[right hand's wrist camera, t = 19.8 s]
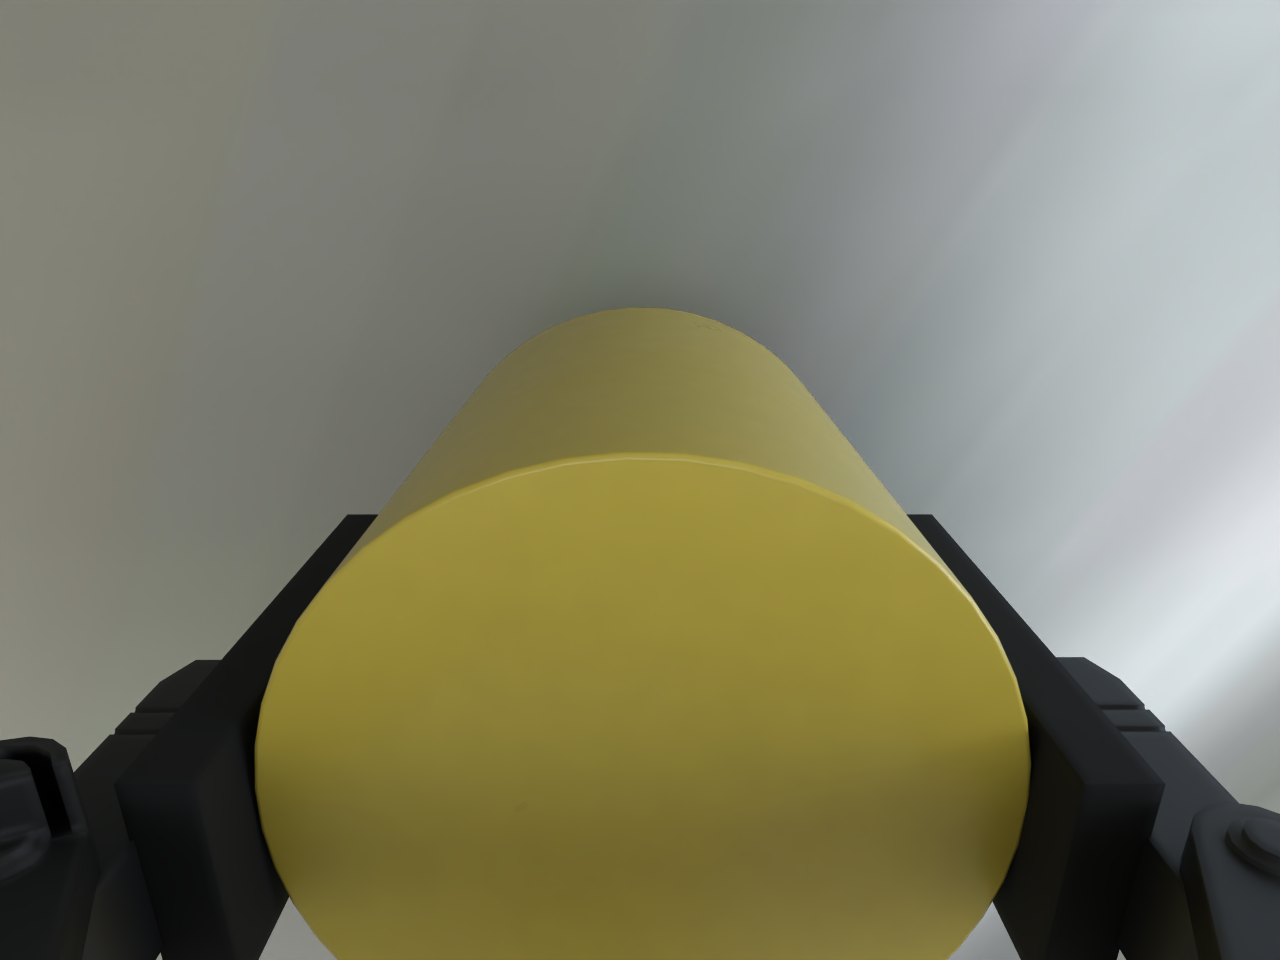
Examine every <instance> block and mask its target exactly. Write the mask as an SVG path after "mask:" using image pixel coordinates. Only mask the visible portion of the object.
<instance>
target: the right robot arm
mask: <svg viewBox="0 0 1280 960" xmlns="http://www.w3.org/2000/svg"><path fill="white" fill-rule="evenodd" d="M377 516H378V515H347V516H346V517H345V518H344V519H343V520H342V522H341V523H340V524H339V525H338V526H337V527H336V529H335V530H334V531H333V532H332V533H331V534H330V535H329V537H328V538H327V539H326V540H325V541H324V542H323V544H322V545H321V546H320V547H319V548H318V549H317V550H316V552H315V553H314V554H313V555H312V556H311V557H310V558H309V560H308V561H307V562H306V563H305V564H304V565H303V567H302V568H301V569H300V570H299V571H298V572H297V573H296V575H295V576H294V577H293V578H292V579H291V580H290V582H289V583H288V584H287V585H286V586H285V587H284V588H283V590H282V591H281V592H280V593H279V594H278V595H277V597H276V598H275V599H274V600H273V601H272V602H271V603H270V605H269V606H268V607H267V608H266V609H265V610H264V611H263V613H262V614H261V615H260V616H259V617H258V618H257V620H256V621H255V622H254V623H253V624H252V625H251V626H250V628H249V629H248V630H247V631H246V632H245V633H244V635H243V636H242V637H241V638H240V639H239V640H238V641H237V643H236V644H235V645H234V646H233V647H232V648H231V649H230V651H229V652H228V653H227V654H226V655H225V656H224V658H223V659H222V660H195V661H194V662H192V663H190V664H189V665H187V666H185V667H184V668H182V669H180V670H179V671H177V672H176V673H174V674H172V675H171V676H169V677H167V678H166V679H164V680H162V681H161V682H159V684H158V685H157V686H156V687H155V688H154V689H153V690H152V691H151V692H150V693H149V694H148V695H147V696H146V697H145V698H144V699H143V700H142V701H141V702H140V703H139V705H138V706H137V707H136V710H135V713H130V714H129V715H128V716H127V717H126V718H125V719H124V720H123V721H122V722H121V723H120V724H119V726H118V727H117V728H116V729H115V734H114V735H109V736H108V737H107V738H106V739H105V740H104V741H103V742H102V743H101V744H100V745H99V747H98V748H97V749H96V750H95V751H94V752H93V753H92V754H91V755H90V756H89V757H88V758H87V759H86V760H85V761H84V762H83V763H82V764H81V765H80V766H79V768H78V769H77V770H76V771H75V772H74V773H73V770H72V766H71V763H70V759H69V756H68V753H67V749H66V748H65V747H64V746H62V745H61V744H59V743H58V742H56V741H55V740H53V739H47V738H38V737H23V738H16V739H8V740H1V741H0V960H156V958H157V957H158V955H159V954H160V952H161V955H162V959H163V960H258V959H259V957H260V955H261V953H262V951H263V949H264V947H265V945H266V943H267V941H268V939H269V937H270V935H271V933H272V931H273V929H274V927H275V925H276V923H277V920H278V918H279V916H280V914H281V912H282V910H283V908H284V906H285V904H286V902H287V900H288V898H289V894H288V893H287V891H286V889H285V887H284V885H283V883H282V881H281V879H280V877H279V875H278V873H277V871H276V869H275V867H274V864H273V861H272V858H271V855H270V852H269V849H268V846H267V843H266V840H265V837H264V834H263V831H262V827H261V822H260V816H259V810H258V804H257V798H256V793H255V740H256V734H257V727H258V721H259V715H260V709H261V703H262V700H263V697H264V694H265V691H266V688H267V685H268V682H269V679H270V676H271V673H272V670H273V667H274V664H275V661H276V659H277V657H278V655H279V653H280V652H281V650H282V648H283V646H284V644H285V642H286V640H287V638H288V637H289V635H290V633H291V631H292V629H293V627H294V625H295V623H296V621H297V620H298V619H299V617H300V616H301V615H302V613H303V612H304V611H305V609H306V608H307V607H308V605H309V604H310V603H311V601H312V600H313V599H314V597H315V596H316V595H317V593H318V592H319V591H320V589H321V588H322V587H323V585H324V584H325V583H326V581H327V580H328V579H329V578H330V576H331V575H332V574H333V573H334V571H335V570H336V569H337V567H338V566H339V565H340V564H341V562H342V561H343V560H344V558H345V557H346V556H347V555H348V553H349V552H350V551H351V549H352V548H353V547H354V546H355V544H356V543H357V542H358V540H359V539H360V538H361V537H362V535H363V534H364V533H365V531H366V530H367V529H368V528H369V526H370V525H371V524H372V523H373V521H374V520H375V519H376V517H377ZM907 516H908V517H909V519H910V520H911V521H912V522H913V524H914V525H915V526H916V527H917V529H918V530H919V531H920V532H921V534H922V535H923V536H924V537H925V539H926V540H927V541H928V543H929V544H930V545H931V546H932V548H933V549H934V550H935V551H936V553H937V554H938V555H939V556H940V558H941V559H942V560H943V561H944V563H945V564H946V565H947V566H948V568H949V569H950V570H951V571H952V573H953V574H954V575H955V577H956V578H957V579H958V580H959V582H960V583H961V584H962V585H963V587H964V588H965V589H966V590H967V592H968V593H969V594H970V595H971V597H972V598H973V600H974V601H975V603H976V604H977V606H978V607H979V609H980V610H981V612H982V613H983V615H984V616H985V618H986V619H987V621H988V622H989V624H990V625H991V627H992V628H993V630H994V632H995V633H996V635H997V636H998V638H999V640H1000V643H1001V645H1002V647H1003V649H1004V651H1005V654H1006V656H1007V658H1008V660H1009V663H1010V665H1011V667H1012V669H1013V672H1014V674H1015V676H1016V679H1017V682H1018V686H1019V690H1020V694H1021V698H1022V701H1023V705H1024V709H1025V713H1026V717H1027V722H1028V733H1029V745H1030V756H1031V773H1030V787H1029V797H1028V803H1027V808H1026V813H1025V817H1024V822H1023V827H1022V831H1021V836H1020V841H1019V845H1018V848H1017V850H1016V853H1015V855H1014V858H1013V860H1012V862H1011V865H1010V867H1009V870H1008V872H1007V875H1006V877H1005V880H1004V882H1003V884H1002V886H1001V887H1000V889H999V891H998V892H997V894H996V896H995V897H994V899H993V903H994V905H995V907H996V909H997V911H998V913H999V915H1000V918H1001V920H1002V922H1003V924H1004V926H1005V928H1006V930H1007V932H1008V934H1009V936H1010V938H1011V940H1012V942H1013V944H1014V946H1015V948H1016V950H1017V952H1018V954H1019V957H1020V959H1021V960H1117V957H1118V953H1119V949H1120V950H1121V952H1122V954H1123V955H1124V957H1125V958H1126V960H1280V814H1278V813H1275V812H1272V811H1269V810H1267V809H1264V808H1261V807H1258V806H1251V805H1245V804H1239V803H1238V802H1237V801H1236V800H1235V799H1234V798H1233V797H1232V796H1231V794H1230V793H1229V792H1228V791H1227V790H1226V789H1225V788H1224V787H1223V786H1222V785H1221V784H1220V783H1219V782H1218V781H1217V780H1216V779H1215V778H1214V777H1213V776H1212V775H1211V774H1210V773H1209V772H1208V770H1207V769H1206V768H1205V767H1204V766H1203V765H1202V764H1201V763H1200V762H1199V761H1198V760H1197V759H1196V758H1195V757H1194V756H1193V755H1192V754H1191V753H1190V752H1189V751H1188V750H1187V749H1186V748H1185V746H1184V745H1183V744H1182V743H1181V742H1180V741H1179V740H1178V739H1177V738H1176V737H1175V736H1174V735H1173V734H1172V733H1171V732H1166V731H1165V726H1164V725H1163V724H1162V723H1161V721H1160V720H1159V719H1158V718H1157V717H1156V716H1155V715H1154V714H1153V713H1152V712H1151V711H1150V710H1145V707H1144V704H1143V703H1142V702H1141V701H1140V700H1139V699H1138V697H1137V696H1136V695H1135V694H1134V693H1133V692H1132V691H1131V690H1130V689H1129V688H1128V687H1127V686H1126V685H1125V684H1124V683H1123V682H1122V681H1121V680H1120V679H1119V678H1117V677H1116V676H1114V675H1112V674H1111V673H1109V672H1107V671H1106V670H1104V669H1102V668H1101V667H1099V666H1097V665H1096V664H1094V663H1092V662H1091V661H1089V660H1087V659H1086V658H1084V657H1055V656H1054V655H1053V654H1052V652H1051V651H1050V650H1049V649H1048V648H1047V647H1046V646H1045V644H1044V643H1043V642H1042V641H1041V640H1040V639H1039V638H1038V636H1037V635H1036V634H1035V633H1034V632H1033V631H1032V629H1031V628H1030V627H1029V626H1028V625H1027V624H1026V623H1025V621H1024V620H1023V619H1022V618H1021V617H1020V616H1019V614H1018V613H1017V612H1016V611H1015V610H1014V609H1013V608H1012V606H1011V605H1010V604H1009V603H1008V602H1007V601H1006V599H1005V598H1004V597H1003V596H1002V595H1001V594H1000V593H999V591H998V590H997V589H996V588H995V587H994V586H993V585H992V583H991V582H990V581H989V580H988V579H987V578H986V576H985V575H984V574H983V573H982V572H981V571H980V570H979V568H978V567H977V566H976V565H975V564H974V563H973V561H972V560H971V559H970V558H969V557H968V556H967V555H966V553H965V552H964V551H963V550H962V549H961V548H960V546H959V545H958V544H957V543H956V542H955V541H954V540H953V538H952V537H951V536H950V535H949V534H948V533H947V531H946V530H945V529H944V528H943V527H942V526H941V525H940V523H939V522H938V521H937V520H936V519H935V518H934V517H933V515H907Z"/></svg>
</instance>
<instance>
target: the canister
mask: <svg viewBox="0 0 1280 960" xmlns="http://www.w3.org/2000/svg"><path fill="white" fill-rule="evenodd" d="M1030 773H1031V756H1030V745H1029V733H1028V722H1027V717H1026V713H1025V709H1024V705H1023V701H1022V698H1021V694H1020V690H1019V686H1018V682H1017V679H1016V676H1015V674H1014V672H1013V669H1012V667H1011V665H1010V663H1009V660H1008V658H1007V656H1006V654H1005V651H1004V649H1003V647H1002V645H1001V643H1000V640H999V638H998V636H997V635H996V633H995V632H994V630H993V628H992V627H991V625H990V624H989V622H988V621H987V619H986V618H985V616H984V615H983V613H982V612H981V610H980V609H979V607H978V606H977V604H976V603H975V601H974V600H973V598H972V597H971V595H970V594H969V593H968V592H967V590H966V589H965V588H964V587H963V585H962V584H961V583H960V582H959V580H958V579H957V578H956V577H955V575H954V574H953V573H952V571H951V570H950V569H949V568H948V566H947V565H946V564H945V563H944V561H943V560H942V559H941V558H940V556H939V555H938V554H937V553H936V551H935V550H934V549H933V548H932V546H931V545H930V544H929V543H928V541H927V540H926V539H925V537H924V536H923V535H922V534H921V532H920V531H919V530H918V529H917V527H916V526H915V525H914V524H913V522H912V521H911V520H910V519H909V517H908V516H907V515H906V514H905V512H904V511H903V510H902V508H901V507H900V506H899V505H898V503H897V502H896V501H895V500H894V498H893V497H892V496H891V495H890V493H889V492H888V491H887V490H886V488H885V487H884V486H883V485H882V483H881V482H880V481H879V479H878V478H877V477H876V476H875V474H874V473H873V472H872V471H871V469H870V468H869V467H868V466H867V464H866V463H865V462H864V461H863V459H862V458H861V457H860V456H859V454H858V453H857V452H856V451H855V449H854V448H853V447H852V445H851V444H850V443H849V442H848V440H847V439H846V438H845V437H844V435H843V434H842V433H841V432H840V430H839V429H838V428H837V427H836V425H835V424H834V423H833V422H832V420H831V419H830V418H829V416H828V415H827V414H826V413H825V411H824V410H823V409H822V408H821V406H820V405H819V404H818V403H817V401H816V400H815V399H814V398H813V396H812V395H811V394H810V393H809V391H808V390H807V389H806V388H805V386H804V385H803V384H802V383H801V381H800V380H799V379H798V378H797V377H796V376H795V375H794V374H793V373H792V371H791V370H790V369H789V368H788V367H787V366H786V365H785V364H784V363H783V362H782V361H781V360H780V359H778V358H777V357H776V356H775V355H774V354H772V353H771V352H770V351H769V350H768V349H766V348H765V347H764V346H762V345H761V344H759V343H758V342H756V341H755V340H753V339H751V338H750V337H748V336H747V335H745V334H743V333H742V332H740V331H738V330H736V329H733V328H731V327H729V326H727V325H725V324H722V323H720V322H718V321H716V320H712V319H709V318H706V317H702V316H699V315H696V314H692V313H689V312H683V311H677V310H670V309H664V308H641V307H631V308H622V309H612V310H604V311H600V312H596V313H592V314H588V315H584V316H579V317H576V318H574V319H571V320H569V321H566V322H563V323H561V324H558V325H556V326H553V327H551V328H549V329H547V330H546V331H544V332H542V333H540V334H538V335H537V336H535V337H533V338H531V339H529V340H528V341H526V342H525V343H524V344H522V345H521V346H520V347H518V348H517V349H516V350H514V351H513V352H512V353H510V354H509V355H508V356H506V357H505V358H504V359H503V360H502V361H501V362H500V363H499V364H498V365H497V366H496V367H495V368H494V369H493V370H492V371H491V372H490V373H489V374H488V375H487V376H486V378H485V379H484V380H483V382H482V383H481V384H480V385H479V387H478V388H477V389H476V391H475V392H474V393H473V394H472V396H471V397H470V398H469V399H468V401H467V402H466V403H465V405H464V406H463V407H462V408H461V410H460V411H459V412H458V414H457V415H456V416H455V417H454V419H453V420H452V421H451V423H450V424H449V425H448V426H447V428H446V429H445V430H444V432H443V433H442V434H441V435H440V437H439V438H438V439H437V440H436V442H435V443H434V444H433V446H432V447H431V448H430V449H429V451H428V452H427V453H426V455H425V456H424V457H423V458H422V460H421V461H420V462H419V464H418V465H417V466H416V467H415V469H414V470H413V471H412V473H411V474H410V475H409V476H408V478H407V479H406V480H405V482H404V483H403V484H402V485H401V487H400V488H399V489H398V490H397V492H396V493H395V494H394V496H393V497H392V498H391V499H390V501H389V502H388V503H387V505H386V506H385V507H384V508H383V510H382V511H381V512H380V514H379V515H378V516H377V517H376V519H375V520H374V521H373V523H372V524H371V525H370V526H369V528H368V529H367V530H366V531H365V533H364V534H363V535H362V537H361V538H360V539H359V540H358V542H357V543H356V544H355V546H354V547H353V548H352V549H351V551H350V552H349V553H348V555H347V556H346V557H345V558H344V560H343V561H342V562H341V564H340V565H339V566H338V567H337V569H336V570H335V571H334V573H333V574H332V575H331V576H330V578H329V579H328V580H327V581H326V583H325V584H324V585H323V587H322V588H321V589H320V591H319V592H318V593H317V595H316V596H315V597H314V599H313V600H312V601H311V603H310V604H309V605H308V607H307V608H306V609H305V611H304V612H303V613H302V615H301V616H300V617H299V619H298V620H297V621H296V623H295V625H294V627H293V629H292V631H291V633H290V635H289V637H288V638H287V640H286V642H285V644H284V646H283V648H282V650H281V652H280V653H279V655H278V657H277V659H276V661H275V664H274V667H273V670H272V673H271V676H270V679H269V682H268V685H267V688H266V691H265V694H264V697H263V700H262V703H261V709H260V715H259V721H258V727H257V734H256V740H255V793H256V798H257V804H258V810H259V816H260V822H261V827H262V831H263V834H264V837H265V840H266V843H267V846H268V849H269V852H270V855H271V858H272V861H273V864H274V867H275V869H276V871H277V873H278V875H279V877H280V879H281V881H282V883H283V885H284V887H285V889H286V891H287V893H288V894H289V896H290V898H291V900H292V902H293V904H294V905H295V907H296V908H297V910H298V911H299V913H300V914H301V915H302V917H303V918H304V920H305V921H306V923H307V924H308V925H309V927H310V928H311V930H312V931H313V932H314V934H315V935H316V937H317V938H318V939H319V940H320V941H321V942H322V943H323V944H324V945H325V947H326V948H327V949H328V950H329V951H330V952H331V953H332V954H333V955H334V956H335V957H336V959H337V960H947V959H948V958H949V957H950V956H951V955H952V954H953V953H954V952H955V951H956V950H957V949H958V948H959V947H960V946H961V944H962V943H963V942H964V941H965V939H966V938H967V937H968V935H969V934H970V933H971V932H972V930H973V929H974V928H975V927H976V925H977V924H978V923H979V921H980V920H981V919H982V918H983V916H984V914H985V913H986V911H987V909H988V908H989V906H990V904H991V903H992V901H993V899H994V897H995V896H996V894H997V892H998V891H999V889H1000V887H1001V886H1002V884H1003V882H1004V880H1005V877H1006V875H1007V872H1008V870H1009V867H1010V865H1011V862H1012V860H1013V858H1014V855H1015V853H1016V850H1017V848H1018V845H1019V841H1020V836H1021V831H1022V827H1023V822H1024V817H1025V813H1026V808H1027V803H1028V797H1029V787H1030Z"/></svg>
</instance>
